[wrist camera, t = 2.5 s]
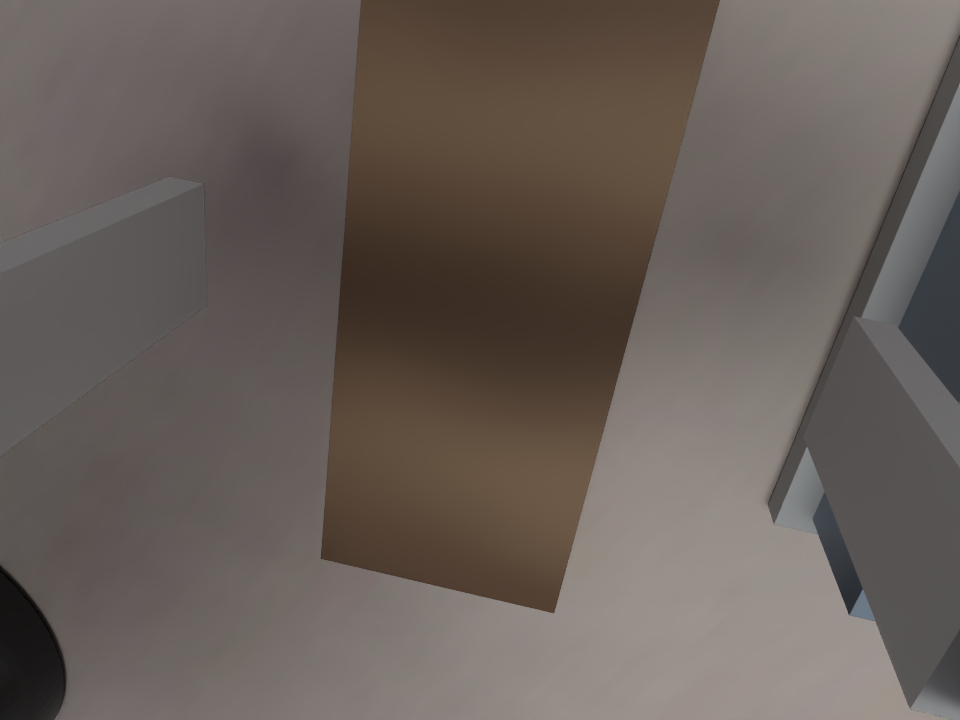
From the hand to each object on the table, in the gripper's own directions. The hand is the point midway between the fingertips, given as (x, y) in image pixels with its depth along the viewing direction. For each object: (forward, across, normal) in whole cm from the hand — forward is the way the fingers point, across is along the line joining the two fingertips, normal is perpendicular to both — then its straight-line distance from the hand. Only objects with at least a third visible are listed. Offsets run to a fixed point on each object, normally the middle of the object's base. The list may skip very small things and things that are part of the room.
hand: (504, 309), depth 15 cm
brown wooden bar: (+7, -1, 0) cm, 7 cm away
